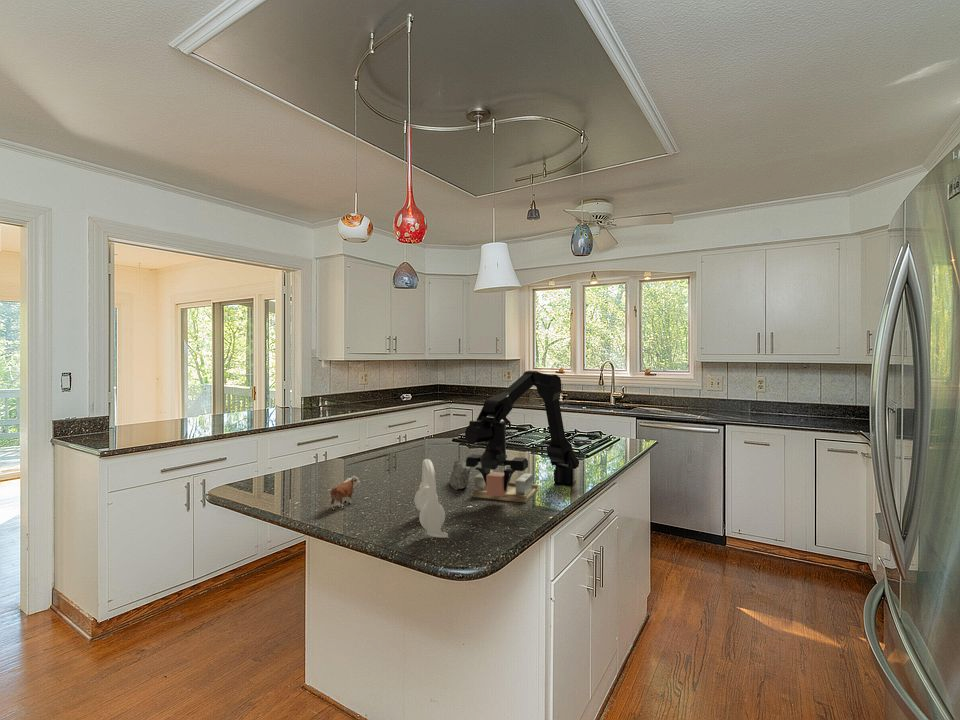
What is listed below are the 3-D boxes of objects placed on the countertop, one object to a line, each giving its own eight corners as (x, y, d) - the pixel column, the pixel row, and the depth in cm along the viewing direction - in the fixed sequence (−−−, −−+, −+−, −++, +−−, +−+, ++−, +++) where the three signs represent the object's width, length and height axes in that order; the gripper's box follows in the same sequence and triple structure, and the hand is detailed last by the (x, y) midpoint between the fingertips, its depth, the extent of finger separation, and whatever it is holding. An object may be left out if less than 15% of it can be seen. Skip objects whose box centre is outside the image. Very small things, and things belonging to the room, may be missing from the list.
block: (507, 492, 156) (507, 472, 156) (502, 496, 151) (501, 476, 151) (492, 490, 158) (491, 471, 157) (486, 495, 153) (486, 475, 153)
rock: (470, 491, 167) (471, 462, 168) (446, 490, 167) (447, 461, 168) (472, 486, 182) (473, 459, 183) (450, 486, 182) (451, 459, 183)
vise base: (537, 490, 168) (537, 472, 168) (526, 502, 155) (525, 483, 155) (487, 485, 175) (487, 468, 175) (472, 496, 162) (472, 478, 162)
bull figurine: (363, 499, 160) (362, 474, 160) (338, 513, 148) (337, 485, 148) (351, 498, 162) (350, 473, 162) (325, 511, 149) (325, 484, 149)
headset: (414, 515, 145) (412, 454, 145) (438, 513, 147) (437, 452, 146) (420, 541, 126) (419, 470, 125) (448, 538, 127) (447, 468, 127)
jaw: (533, 488, 167) (533, 473, 167) (524, 496, 158) (524, 481, 157) (524, 487, 168) (524, 473, 168) (515, 496, 159) (515, 480, 158)
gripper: (458, 442, 150) (458, 494, 150) (517, 446, 143) (518, 500, 143) (472, 436, 160) (472, 484, 161) (528, 439, 153) (528, 490, 154)
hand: (497, 490), depth 154 cm, fingers closed on block, 5 cm apart
